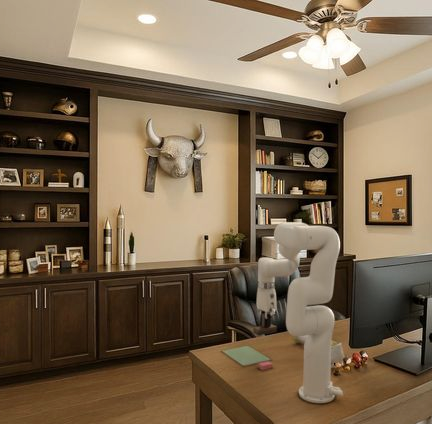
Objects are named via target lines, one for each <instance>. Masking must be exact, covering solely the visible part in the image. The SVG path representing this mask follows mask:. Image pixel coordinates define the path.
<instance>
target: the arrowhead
mask: <svg viewBox="0 0 432 424" xmlns="http://www.w3.org/2000/svg"><path fill="white" fill-rule="evenodd" d="M338 343H339V344H338V345H337V344H335V346H334V348H333V351H332V354H331V362H332V363H331V369H334V368H335V366H334V363H338V362H339V363H342V362H343V360H344V358H345V359H346V356H345V354H344V350H343V343H342V342H338ZM343 366H344V367H345V363H344V364H343V365H342V366H341V367H343ZM335 369H336V368H335Z"/></svg>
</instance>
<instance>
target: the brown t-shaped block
mask: <svg viewBox="0 0 432 424" xmlns="http://www.w3.org/2000/svg"><path fill="white" fill-rule="evenodd" d="M264 319H265V313H262V326H261V325H259V326H254V327H253V334H254V335H256V336H263V335H268V334H274V333H277V332H278V326H277V325H276V324H275V325H274V324H272V323H271V327H267V328H265V327H264Z"/></svg>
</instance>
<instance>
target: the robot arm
mask: <svg viewBox="0 0 432 424" xmlns="http://www.w3.org/2000/svg"><path fill="white" fill-rule="evenodd" d="M273 239H274V241H275V243H276V244H278V247H277V248H278V249H277V250H278V253H279V254H280V255H281V257H283V258H277V259H275V258H273V257H260V258H259V259H258V261H257V262H258V263H257V267H258V268H257V291H256V310H257V311H258V313H259V326H262V313H265V319H264V327H265V328H267V327H271V324H272V317H274V316H275V315H276V313H275V312H277V306H278V305H277V292H276V289H275V288H276V287H275V286H276V284H275V282H276V281H275V280H276V279H275V278H278V277H281V278H282V277H290V276H292V275H293V274H294V273H295V272H296V271H297V269H298V268H299V266H300V262H301V259H300V258H301V257H300V252H301V251H313V250H317V251H318V252H317V253H316V254H315V255H314V257H313V259H312V261H311V263H310V268H309V269H310V271H309V275H308V276H302V277H296V278H294V279H292V280H291V282H290V284H289V286H288V289H287V299H286V311H285V327H286V330H287V332H288V333H289V334H290V335H291V336H305V335H307V337H306V340H305V343H303V371H302V372H303V375H302V376H303V377H302V386H300V388H299V389H298V396H299V397H300V398H301V399H302V400H304V401H305V402H307V403H308V402H309V403H313V404H327V403H330V402H332V401H333V400H334V399H335V396H337V397H343V395H344V390H341V387H338V386H334V385H333V381H331V375H332V374H331V369H332V368H331V365H332V363H331V343H332V342H331V340H333V338H332V337H333V332H334V328H335V322H336V321H335V320H336V319H335V318H336V317H335V314H334V312H333V310H332V309H331V308H329V307H328V306H326V305H322V304H326V303H329V302H330V301H331V300H332V298H333V294H334V286H335V277H336V276H335V275H336V266H337V263H338V262H337V261H338V257H339V255H340V249H341V241H340V236H339V234H338V233H337V231H336V230H335V229H334V228H333V227H330V226H326V225H308V224H307V223H305V222H300V221H298V222H296V221H294V222H292V221H290V222H289V221H286V222H285V221H284V222H280V223H278V224H277V225H276V226H275V228H274V231H273Z"/></svg>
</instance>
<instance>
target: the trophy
mask: <svg viewBox="0 0 432 424" xmlns="http://www.w3.org/2000/svg"><path fill="white" fill-rule="evenodd" d="M291 336H292V337H291V338H292V341H293V342H294V343H295V344H304V343H305V340H306V337H307V335H305V336H293V335H291ZM339 343H340V342H337V341H335V340H333V339H332V340H331V354H332V351H333V348H334V346H335V345H338V344H339ZM331 364H332V362H331Z"/></svg>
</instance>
